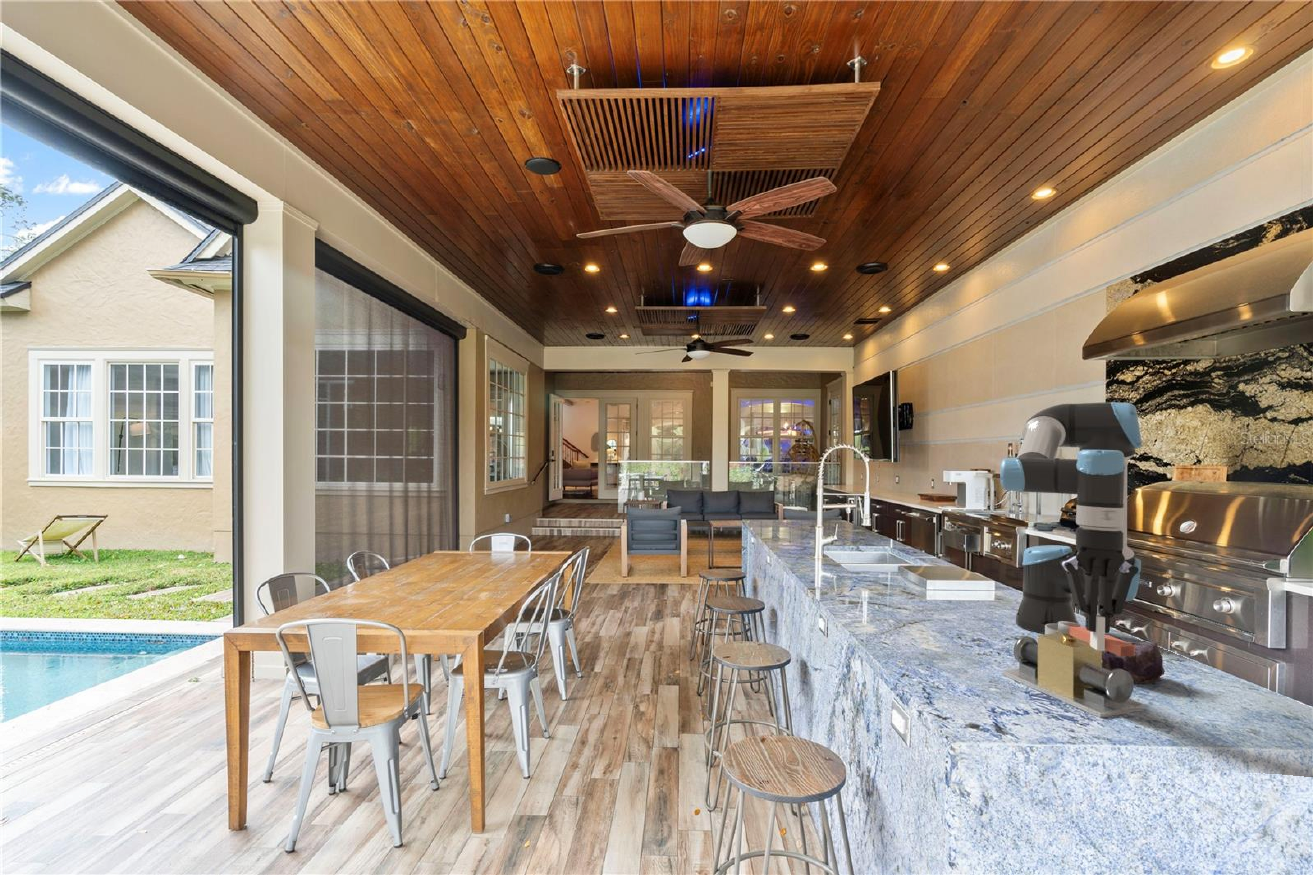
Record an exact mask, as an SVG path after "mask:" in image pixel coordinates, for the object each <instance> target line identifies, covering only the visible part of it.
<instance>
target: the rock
mask: <svg viewBox="0 0 1313 875" xmlns="http://www.w3.org/2000/svg"><path fill="white" fill-rule="evenodd" d="M1127 642H1128V643H1130V644H1133V645H1135V656H1119V655H1116V654H1114V653H1111V652H1109V651H1106V650H1105V651H1102V668H1105V669H1107V670H1110V671H1112V670H1114V669H1117V668H1119V669H1122V670H1125V671H1127V672H1129V673H1130V674H1131V676H1132V678H1133V683H1134V684H1142V685H1146V684H1148V683H1153V682H1157V681H1158V682H1159V681H1160V680H1161V677H1162V675H1164V674H1165V669H1164V665H1163V664H1164V660H1163V655H1162V653H1161V650H1160V649H1159V648H1160V647H1159V646H1158V643H1157V642H1156V641H1149V642H1146V641H1144V642H1131V641H1127Z"/></svg>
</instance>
